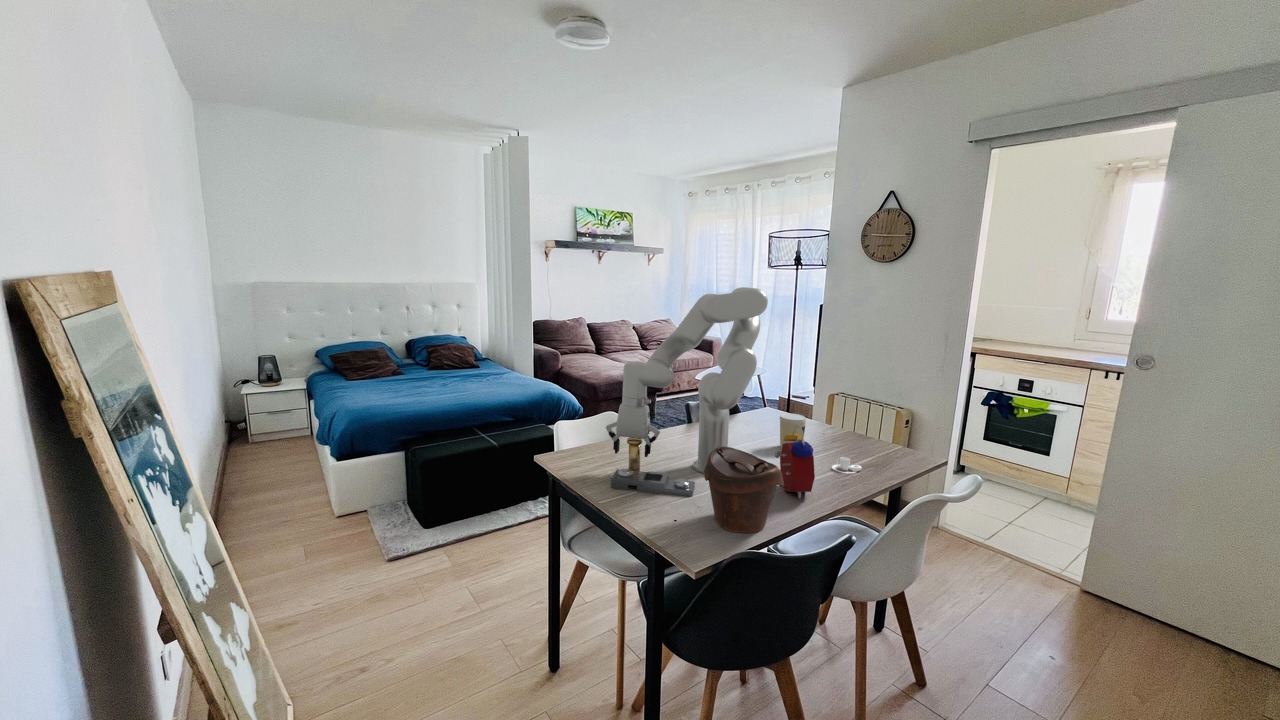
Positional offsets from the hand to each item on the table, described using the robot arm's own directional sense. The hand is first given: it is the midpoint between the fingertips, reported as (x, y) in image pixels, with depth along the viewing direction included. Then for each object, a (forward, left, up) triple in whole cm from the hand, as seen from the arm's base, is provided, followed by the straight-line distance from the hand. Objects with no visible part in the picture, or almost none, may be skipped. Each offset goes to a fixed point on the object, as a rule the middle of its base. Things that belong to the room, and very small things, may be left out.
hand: (631, 453), depth 162 cm
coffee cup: (-52, -37, -7) cm, 64 cm away
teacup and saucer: (-69, -17, -7) cm, 71 cm away
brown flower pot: (-35, +26, -7) cm, 44 cm away
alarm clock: (-49, +3, -6) cm, 49 cm away
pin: (-1, 0, -6) cm, 6 cm away
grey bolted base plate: (-9, +10, -6) cm, 15 cm away
